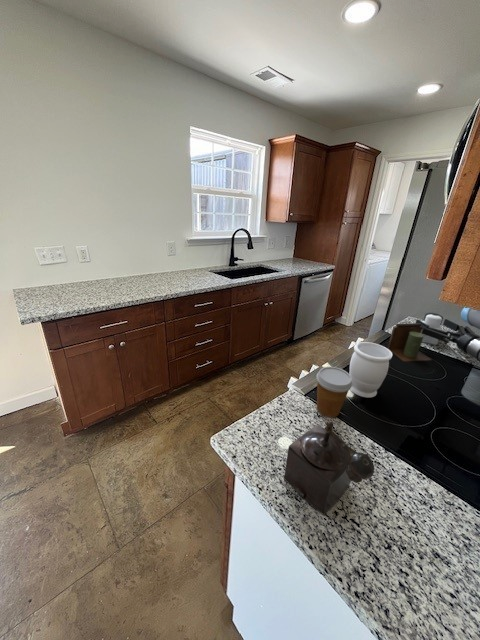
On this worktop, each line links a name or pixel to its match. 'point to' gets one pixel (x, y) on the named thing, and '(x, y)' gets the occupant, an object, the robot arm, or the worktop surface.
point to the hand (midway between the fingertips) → (430, 322)
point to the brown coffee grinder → (324, 467)
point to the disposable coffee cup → (332, 390)
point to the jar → (368, 368)
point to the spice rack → (404, 341)
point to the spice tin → (413, 344)
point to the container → (432, 326)
